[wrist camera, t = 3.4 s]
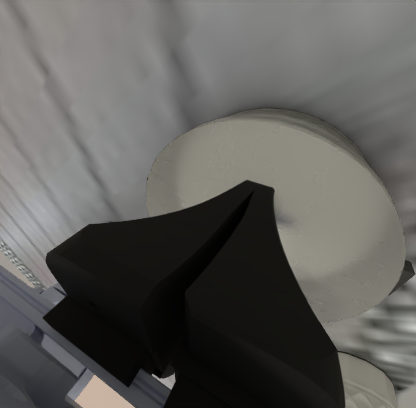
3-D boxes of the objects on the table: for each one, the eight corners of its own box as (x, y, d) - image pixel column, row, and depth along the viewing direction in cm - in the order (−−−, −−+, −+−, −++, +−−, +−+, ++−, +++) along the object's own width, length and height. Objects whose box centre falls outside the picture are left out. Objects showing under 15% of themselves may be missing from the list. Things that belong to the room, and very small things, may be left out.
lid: (319, 334, 14) (318, 369, 13) (163, 257, 19) (147, 276, 17) (515, 163, 6) (581, 204, 4) (142, 91, 10) (107, 98, 8)
